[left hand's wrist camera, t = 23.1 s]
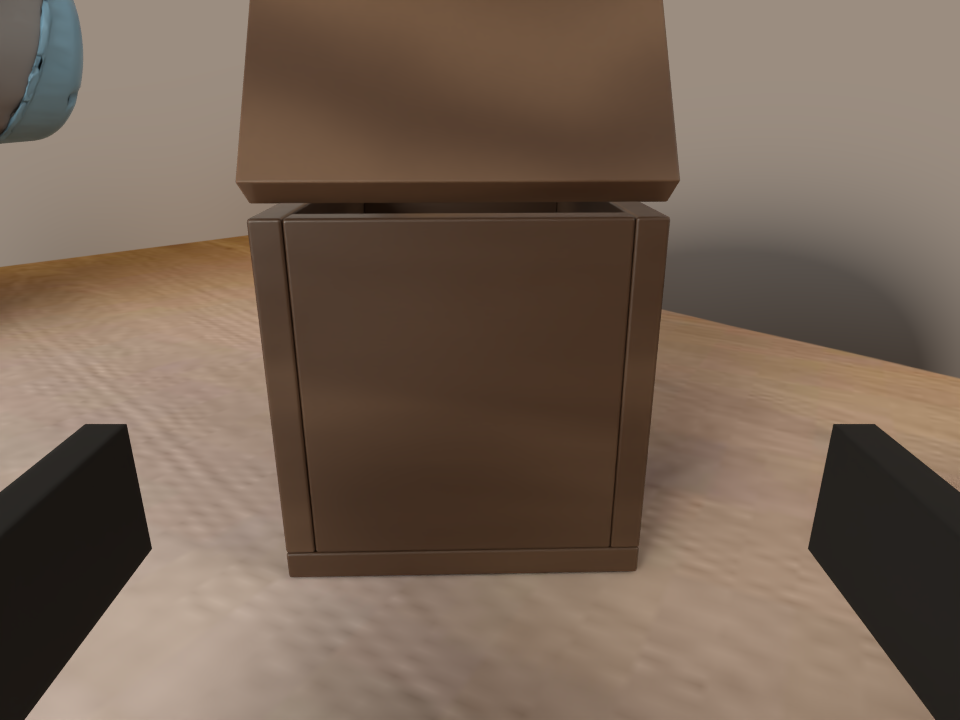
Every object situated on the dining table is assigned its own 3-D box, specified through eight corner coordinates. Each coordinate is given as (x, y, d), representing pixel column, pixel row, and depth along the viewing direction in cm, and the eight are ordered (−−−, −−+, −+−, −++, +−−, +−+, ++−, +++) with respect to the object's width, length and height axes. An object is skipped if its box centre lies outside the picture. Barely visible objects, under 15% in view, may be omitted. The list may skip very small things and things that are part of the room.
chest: (359, 385, 33) (345, 168, 30) (564, 382, 34) (574, 168, 30) (288, 578, 20) (245, 218, 16) (636, 572, 20) (671, 216, 16)
